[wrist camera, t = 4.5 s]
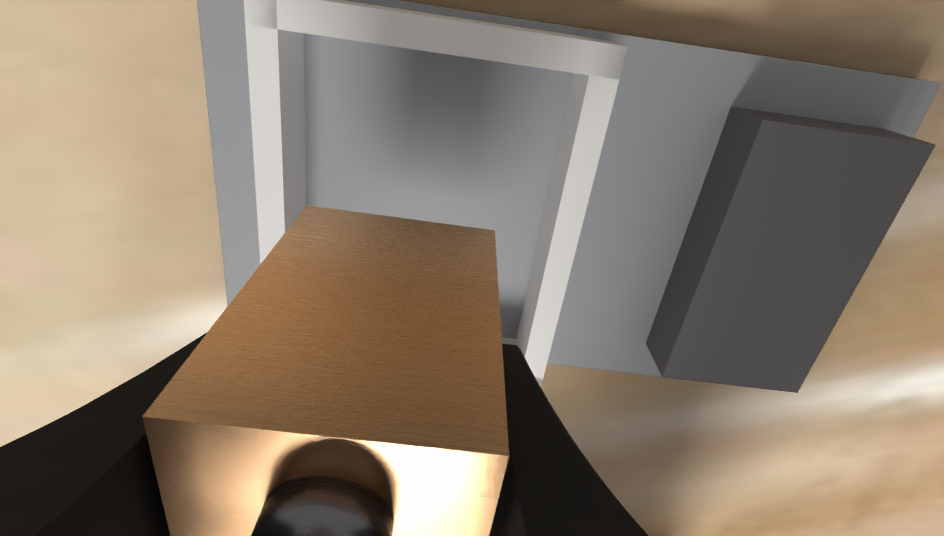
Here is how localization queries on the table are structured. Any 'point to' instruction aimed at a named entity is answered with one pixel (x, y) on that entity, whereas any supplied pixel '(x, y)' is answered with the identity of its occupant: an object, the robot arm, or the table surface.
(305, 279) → the brown block with knobs
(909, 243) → the table surface
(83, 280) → the table surface
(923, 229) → the table surface
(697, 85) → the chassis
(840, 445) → the table surface
